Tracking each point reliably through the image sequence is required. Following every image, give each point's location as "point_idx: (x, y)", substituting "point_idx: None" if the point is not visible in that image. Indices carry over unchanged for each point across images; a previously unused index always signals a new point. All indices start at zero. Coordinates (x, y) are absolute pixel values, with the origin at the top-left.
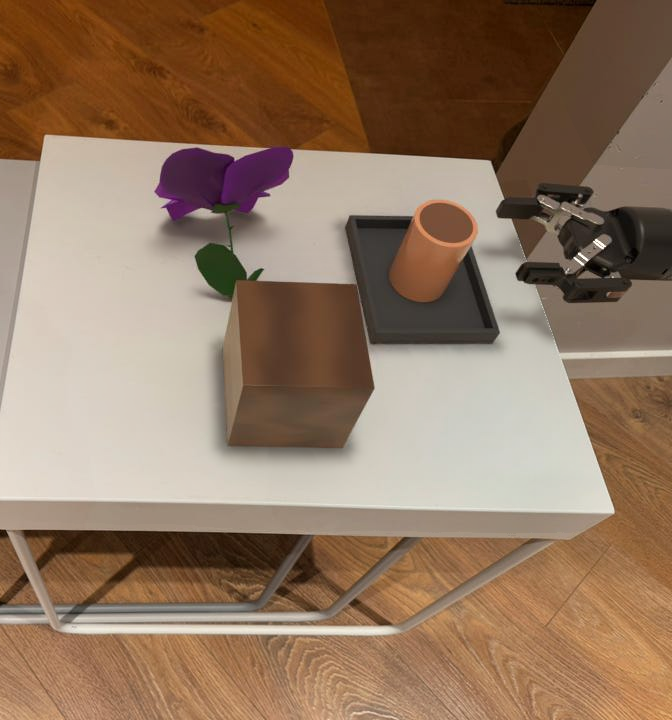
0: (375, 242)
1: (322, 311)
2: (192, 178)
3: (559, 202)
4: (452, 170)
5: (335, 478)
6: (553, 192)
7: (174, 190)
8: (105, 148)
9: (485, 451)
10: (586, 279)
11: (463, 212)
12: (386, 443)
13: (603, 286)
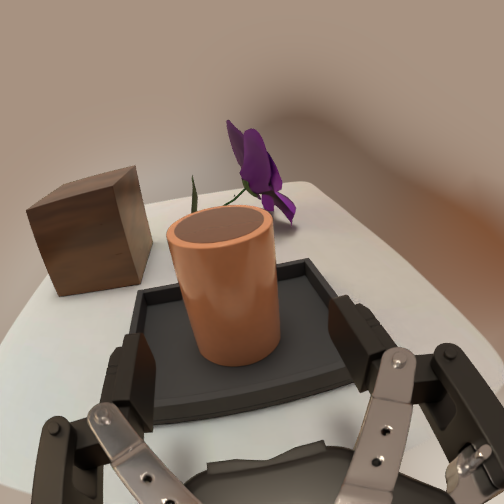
0: (291, 293)
1: (94, 184)
2: (238, 151)
3: (451, 433)
4: (484, 345)
5: (43, 295)
6: (448, 382)
7: (238, 161)
8: (316, 188)
9: (13, 385)
10: (63, 451)
11: (247, 231)
12: (50, 319)
13: (35, 484)
